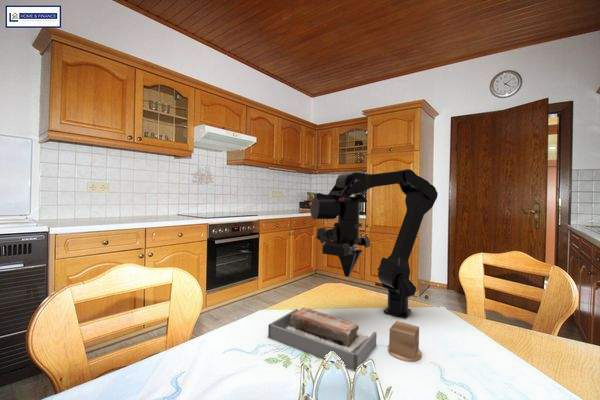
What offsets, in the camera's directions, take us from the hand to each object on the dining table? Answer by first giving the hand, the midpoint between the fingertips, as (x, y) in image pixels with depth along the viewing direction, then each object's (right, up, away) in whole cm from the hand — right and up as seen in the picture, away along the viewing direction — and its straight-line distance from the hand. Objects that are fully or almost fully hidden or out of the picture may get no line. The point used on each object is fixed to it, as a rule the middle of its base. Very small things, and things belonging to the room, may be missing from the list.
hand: (347, 276), depth 77 cm
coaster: (+10, -12, -15) cm, 22 cm away
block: (+10, -12, -15) cm, 22 cm away
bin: (-8, -12, -11) cm, 18 cm away
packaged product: (-7, -13, -9) cm, 17 cm away
